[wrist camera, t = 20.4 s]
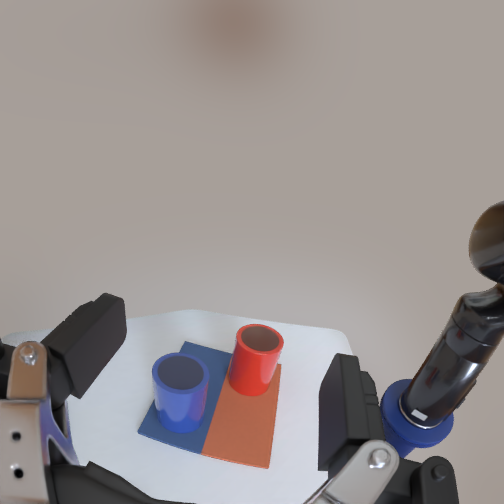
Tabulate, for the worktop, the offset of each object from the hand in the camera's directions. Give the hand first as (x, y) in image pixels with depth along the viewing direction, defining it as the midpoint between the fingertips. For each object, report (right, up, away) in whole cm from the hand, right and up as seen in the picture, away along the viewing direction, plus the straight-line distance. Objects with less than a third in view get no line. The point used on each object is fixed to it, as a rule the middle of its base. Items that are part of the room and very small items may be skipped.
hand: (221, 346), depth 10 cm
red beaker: (+1, -15, +29) cm, 33 cm away
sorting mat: (-3, -17, +26) cm, 31 cm away
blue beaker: (-8, -17, +21) cm, 29 cm away
